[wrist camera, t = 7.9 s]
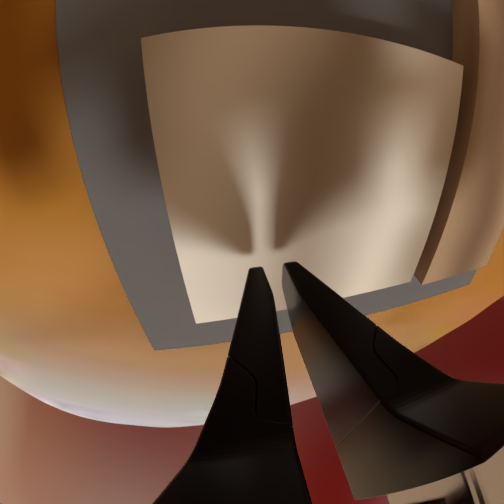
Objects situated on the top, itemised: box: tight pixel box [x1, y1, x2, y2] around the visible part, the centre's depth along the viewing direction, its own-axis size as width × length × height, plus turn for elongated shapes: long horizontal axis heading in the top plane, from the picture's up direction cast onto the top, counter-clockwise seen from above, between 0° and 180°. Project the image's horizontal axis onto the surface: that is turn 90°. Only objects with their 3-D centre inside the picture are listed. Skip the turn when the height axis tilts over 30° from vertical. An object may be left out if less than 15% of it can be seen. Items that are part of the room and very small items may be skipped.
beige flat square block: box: [141, 25, 463, 324], centre depth 9 cm, size 10×10×2 cm
